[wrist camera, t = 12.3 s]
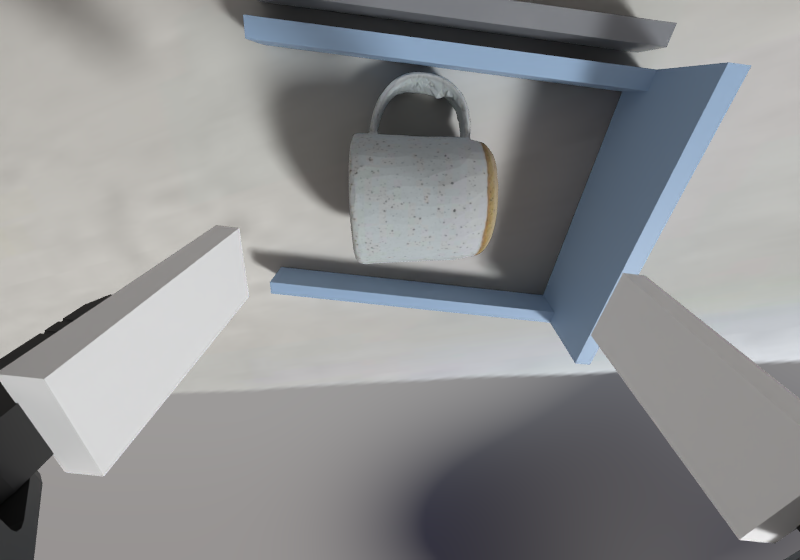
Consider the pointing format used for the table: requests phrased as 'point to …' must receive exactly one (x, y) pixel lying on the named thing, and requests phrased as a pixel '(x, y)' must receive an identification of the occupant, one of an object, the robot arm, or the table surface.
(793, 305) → the table surface
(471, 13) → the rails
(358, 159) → the ceramic mug
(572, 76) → the frame
